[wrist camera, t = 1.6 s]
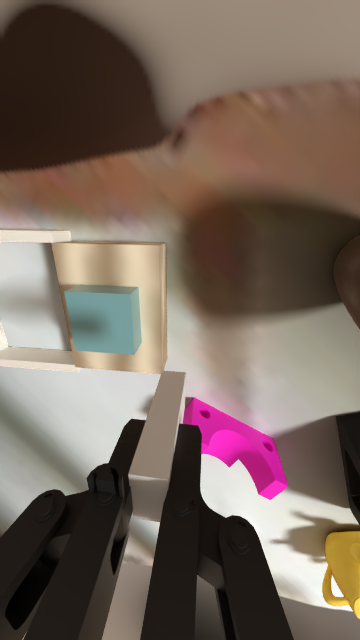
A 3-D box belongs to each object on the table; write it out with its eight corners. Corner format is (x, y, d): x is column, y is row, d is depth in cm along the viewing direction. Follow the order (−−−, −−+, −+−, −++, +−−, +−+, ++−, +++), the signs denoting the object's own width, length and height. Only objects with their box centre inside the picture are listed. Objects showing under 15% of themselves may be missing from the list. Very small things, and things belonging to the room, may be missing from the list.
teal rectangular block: (88, 338, 29) (75, 350, 26) (79, 284, 26) (64, 291, 23) (141, 342, 28) (134, 354, 25) (138, 287, 25) (130, 294, 23)
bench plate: (89, 352, 34) (75, 367, 31) (71, 241, 28) (51, 242, 25) (167, 357, 33) (162, 374, 29) (166, 243, 27) (159, 245, 23)
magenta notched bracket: (175, 420, 38) (168, 463, 31) (194, 396, 36) (190, 437, 29) (250, 459, 39) (259, 508, 32) (273, 437, 37) (288, 486, 30)
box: (3, 352, 36) (-17, 364, 33) (-37, 228, 29) (-67, 229, 26) (90, 359, 35) (78, 372, 32) (69, 230, 28) (51, 231, 25)
